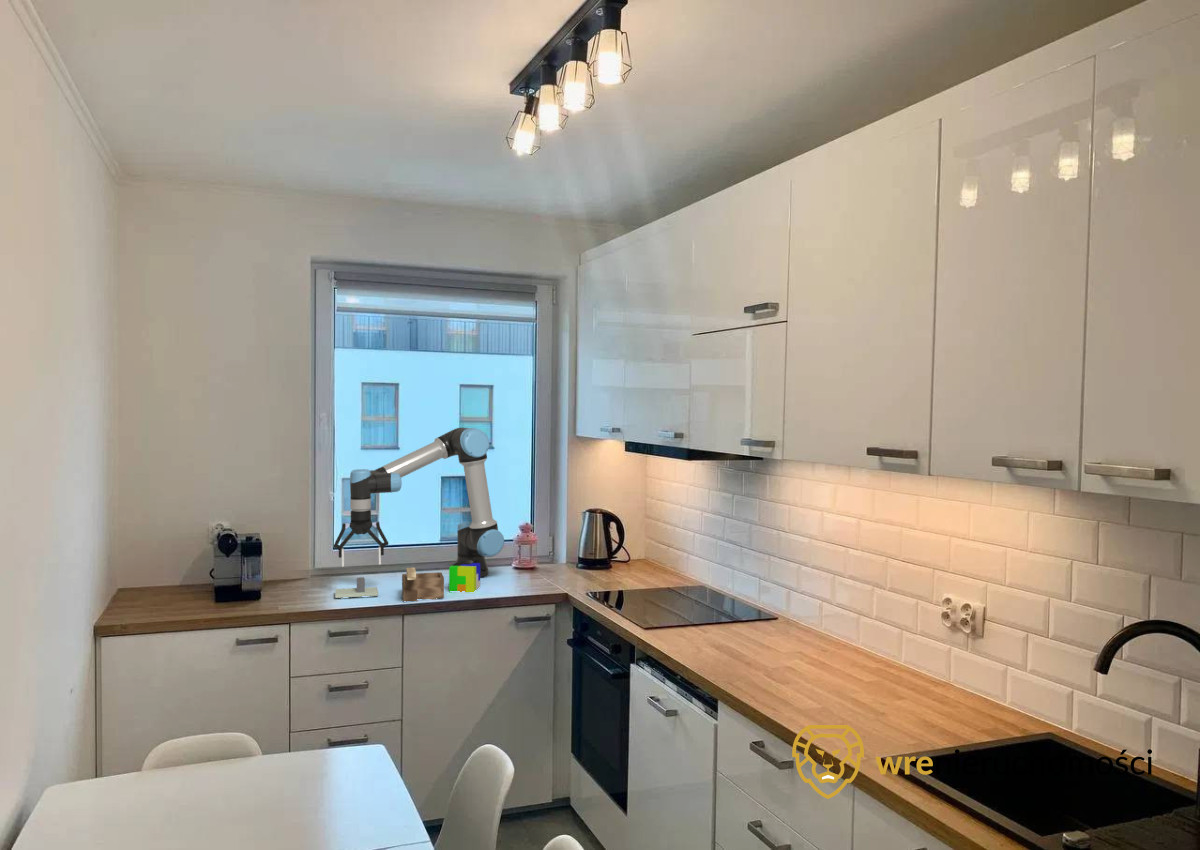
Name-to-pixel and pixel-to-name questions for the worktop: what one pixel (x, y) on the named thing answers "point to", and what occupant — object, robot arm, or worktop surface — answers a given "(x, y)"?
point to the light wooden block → (411, 573)
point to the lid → (357, 590)
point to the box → (423, 586)
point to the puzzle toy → (464, 577)
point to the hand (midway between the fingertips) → (361, 565)
